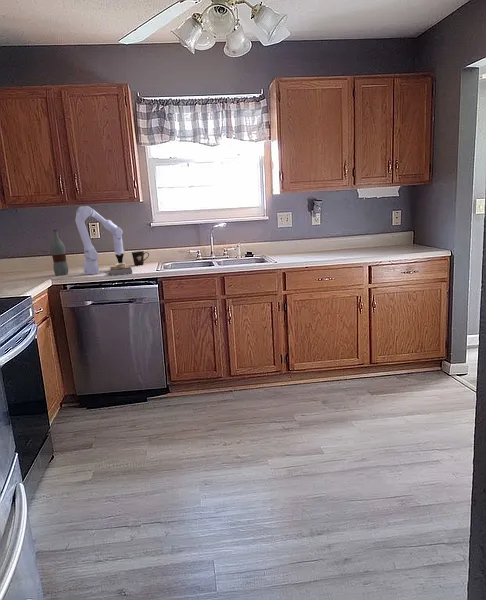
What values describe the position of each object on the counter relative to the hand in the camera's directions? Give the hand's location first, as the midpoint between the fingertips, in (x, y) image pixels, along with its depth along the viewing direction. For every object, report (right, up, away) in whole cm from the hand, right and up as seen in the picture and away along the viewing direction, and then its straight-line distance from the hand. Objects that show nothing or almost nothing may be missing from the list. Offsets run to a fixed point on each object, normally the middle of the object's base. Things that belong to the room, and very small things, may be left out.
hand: (120, 264), depth 321 cm
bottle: (-37, -8, -8) cm, 39 cm away
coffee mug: (+10, +1, +17) cm, 20 cm away
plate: (+2, -5, -6) cm, 8 cm away
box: (+5, -7, -17) cm, 19 cm away
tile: (+2, -3, -7) cm, 8 cm away
